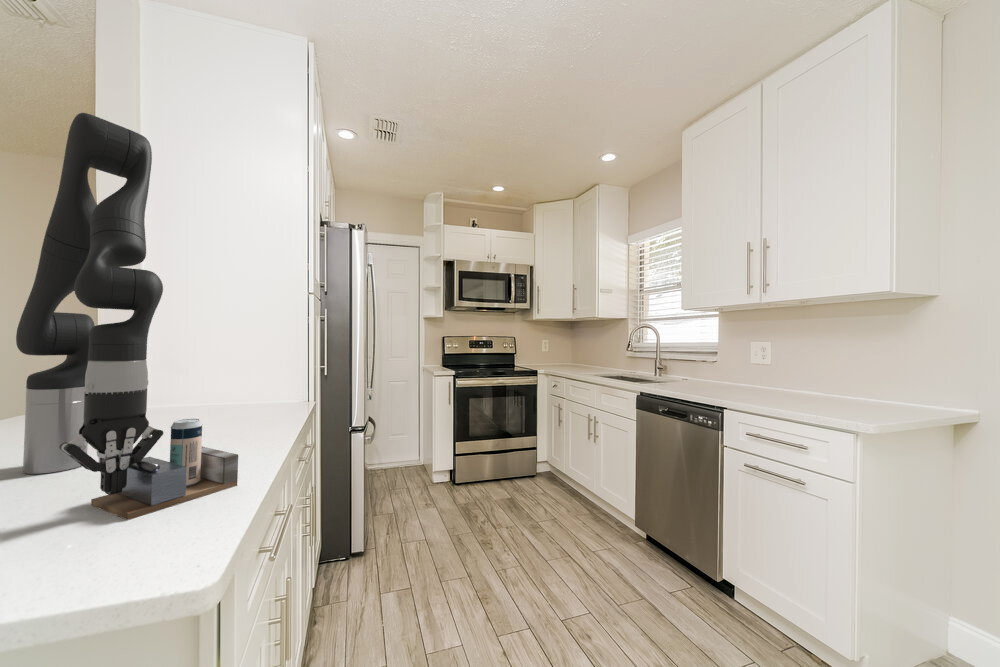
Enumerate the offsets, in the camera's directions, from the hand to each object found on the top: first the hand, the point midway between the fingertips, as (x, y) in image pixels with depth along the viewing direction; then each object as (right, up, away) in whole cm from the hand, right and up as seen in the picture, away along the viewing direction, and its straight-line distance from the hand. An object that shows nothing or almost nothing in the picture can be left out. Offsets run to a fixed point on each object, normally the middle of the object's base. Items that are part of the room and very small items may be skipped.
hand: (113, 492), depth 66 cm
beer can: (+4, -2, +9) cm, 11 cm away
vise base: (+3, -3, +7) cm, 9 cm away
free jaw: (+2, -2, +5) cm, 5 cm away
